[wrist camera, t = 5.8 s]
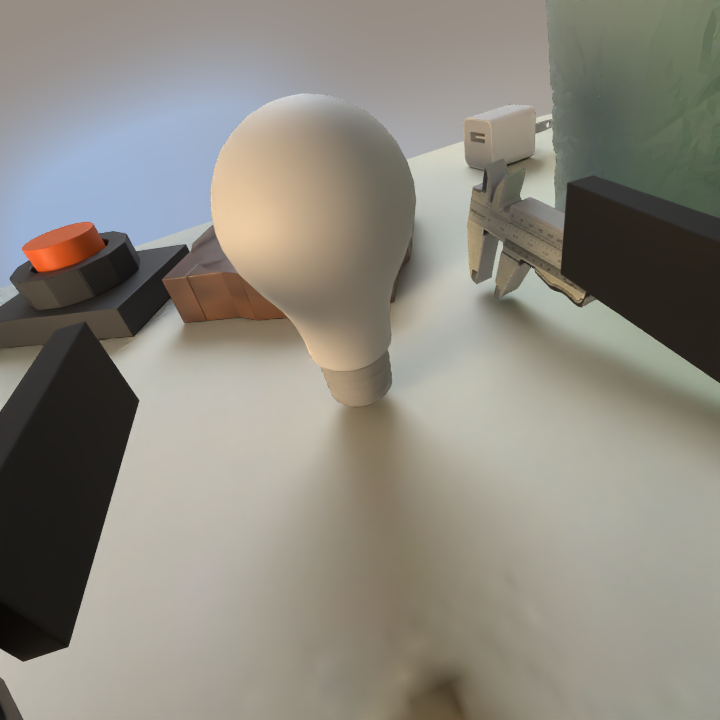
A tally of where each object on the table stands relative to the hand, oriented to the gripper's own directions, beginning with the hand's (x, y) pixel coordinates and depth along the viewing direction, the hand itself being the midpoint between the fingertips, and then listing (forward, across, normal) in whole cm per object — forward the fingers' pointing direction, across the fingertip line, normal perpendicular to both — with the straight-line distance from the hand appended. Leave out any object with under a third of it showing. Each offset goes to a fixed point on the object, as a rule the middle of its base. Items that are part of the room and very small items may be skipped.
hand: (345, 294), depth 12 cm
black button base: (+21, -16, -6) cm, 27 cm away
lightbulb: (+3, 0, -7) cm, 7 cm away
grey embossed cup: (+12, +18, -7) cm, 23 cm away
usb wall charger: (+28, +20, -7) cm, 35 cm away
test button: (+21, -15, -3) cm, 26 cm away
